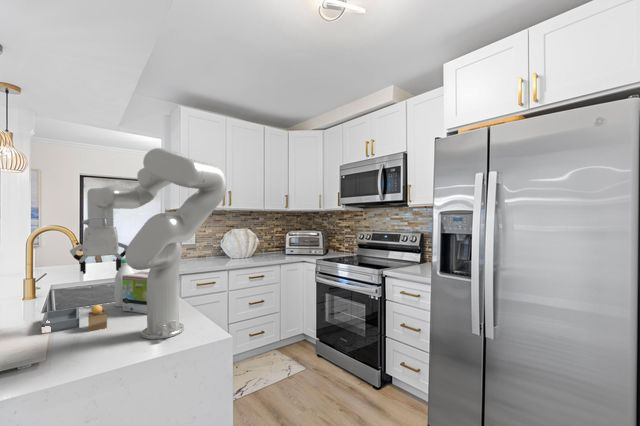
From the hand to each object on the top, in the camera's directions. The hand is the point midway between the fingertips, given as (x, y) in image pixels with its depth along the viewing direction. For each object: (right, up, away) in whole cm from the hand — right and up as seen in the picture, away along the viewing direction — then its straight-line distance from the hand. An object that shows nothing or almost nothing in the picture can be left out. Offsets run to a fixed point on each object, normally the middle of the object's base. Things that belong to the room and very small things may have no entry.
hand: (101, 271), depth 111 cm
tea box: (+6, -19, +18) cm, 27 cm away
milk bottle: (-8, -19, +26) cm, 33 cm away
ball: (0, -14, -2) cm, 14 cm away
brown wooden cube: (0, -19, -2) cm, 19 cm away
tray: (-16, -19, +2) cm, 25 cm away
